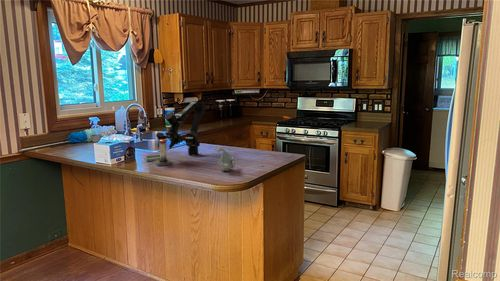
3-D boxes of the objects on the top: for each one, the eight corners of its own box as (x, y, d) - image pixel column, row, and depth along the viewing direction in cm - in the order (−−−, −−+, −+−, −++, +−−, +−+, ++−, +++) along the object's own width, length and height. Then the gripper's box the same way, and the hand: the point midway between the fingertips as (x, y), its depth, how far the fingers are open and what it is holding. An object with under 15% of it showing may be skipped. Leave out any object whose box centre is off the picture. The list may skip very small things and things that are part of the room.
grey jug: (217, 167, 228) (216, 143, 226) (234, 167, 229) (233, 143, 227) (217, 174, 212) (216, 149, 209) (235, 173, 213) (234, 148, 210)
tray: (163, 156, 261) (163, 154, 261) (166, 159, 252) (166, 157, 252) (144, 158, 255) (144, 156, 255) (147, 161, 246) (147, 159, 246)
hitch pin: (167, 162, 243) (166, 138, 240) (169, 164, 238) (167, 140, 235) (158, 163, 241) (157, 139, 238) (160, 165, 236) (158, 141, 233)
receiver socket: (169, 161, 245) (169, 158, 245) (172, 164, 237) (172, 161, 237) (155, 163, 242) (154, 160, 241) (157, 166, 233) (157, 163, 233)
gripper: (190, 137, 248) (181, 156, 240) (168, 135, 256) (159, 153, 249) (183, 126, 240) (173, 146, 232) (160, 125, 248) (150, 144, 240)
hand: (164, 147), depth 238 cm, fingers open, 9 cm apart
